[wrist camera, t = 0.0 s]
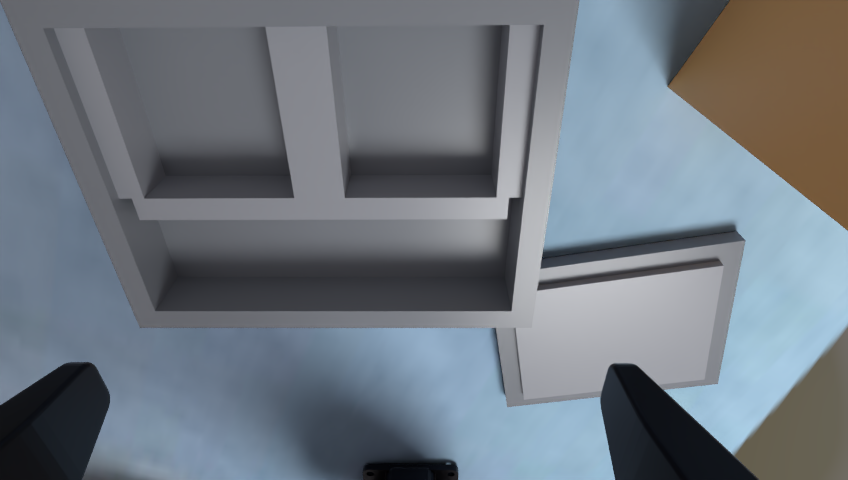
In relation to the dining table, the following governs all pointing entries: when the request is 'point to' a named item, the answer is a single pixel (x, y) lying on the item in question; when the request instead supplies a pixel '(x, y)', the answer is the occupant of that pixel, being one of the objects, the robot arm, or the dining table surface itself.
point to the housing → (311, 153)
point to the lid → (625, 318)
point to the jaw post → (780, 90)
